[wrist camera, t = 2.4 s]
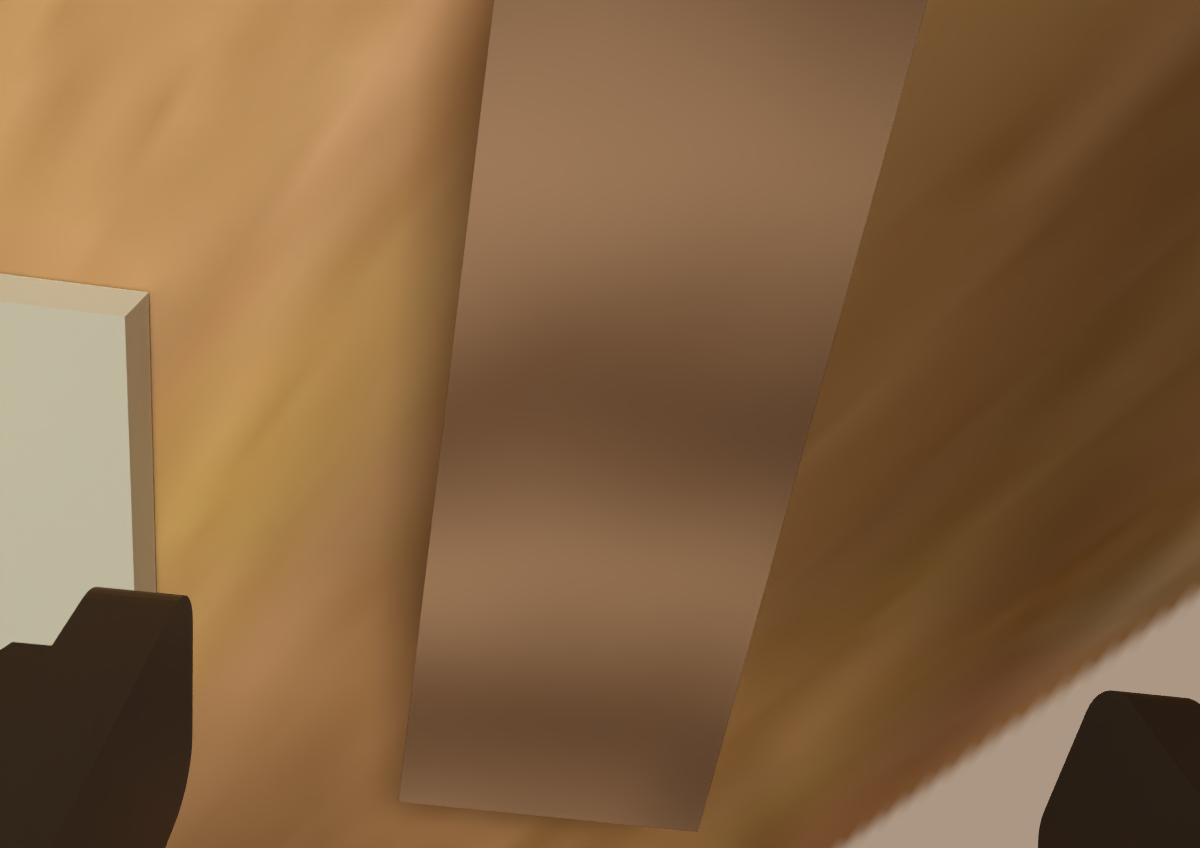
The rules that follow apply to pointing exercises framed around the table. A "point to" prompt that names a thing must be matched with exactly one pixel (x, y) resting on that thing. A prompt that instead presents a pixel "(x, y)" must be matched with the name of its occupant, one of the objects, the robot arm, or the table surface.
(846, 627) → the table surface
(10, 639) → the peg stand
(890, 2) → the walnut shelf board
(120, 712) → the robot arm
